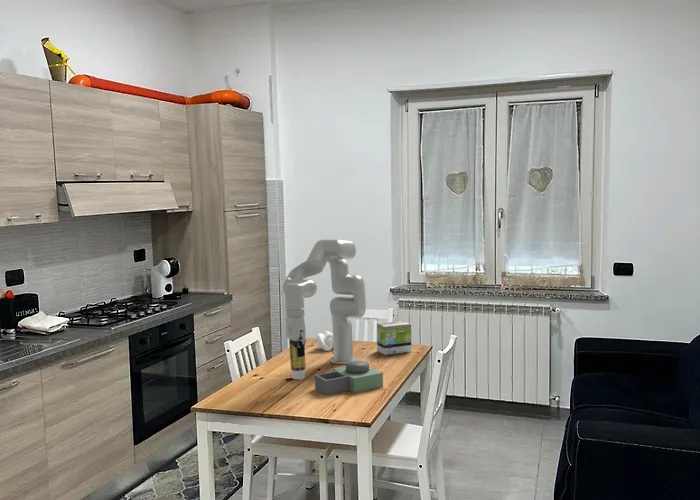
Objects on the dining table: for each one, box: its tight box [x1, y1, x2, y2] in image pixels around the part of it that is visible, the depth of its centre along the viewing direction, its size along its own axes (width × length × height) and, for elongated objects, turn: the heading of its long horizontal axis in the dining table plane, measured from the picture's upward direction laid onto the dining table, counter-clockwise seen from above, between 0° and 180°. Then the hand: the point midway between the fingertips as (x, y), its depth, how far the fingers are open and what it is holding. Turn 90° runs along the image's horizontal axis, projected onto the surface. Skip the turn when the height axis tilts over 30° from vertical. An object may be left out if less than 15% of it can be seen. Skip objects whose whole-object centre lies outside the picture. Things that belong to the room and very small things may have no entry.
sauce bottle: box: [288, 338, 306, 371], centre depth 269 cm, size 6×6×20 cm
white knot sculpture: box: [316, 330, 333, 352], centre depth 337 cm, size 11×12×9 cm
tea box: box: [376, 320, 412, 356], centre depth 328 cm, size 15×10×15 cm, turn 114°
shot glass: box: [289, 361, 307, 380], centre depth 288 cm, size 7×7×7 cm
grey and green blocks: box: [314, 360, 384, 396], centre depth 273 cm, size 18×25×9 cm
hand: (297, 354), depth 270 cm, fingers closed on sauce bottle, 6 cm apart
